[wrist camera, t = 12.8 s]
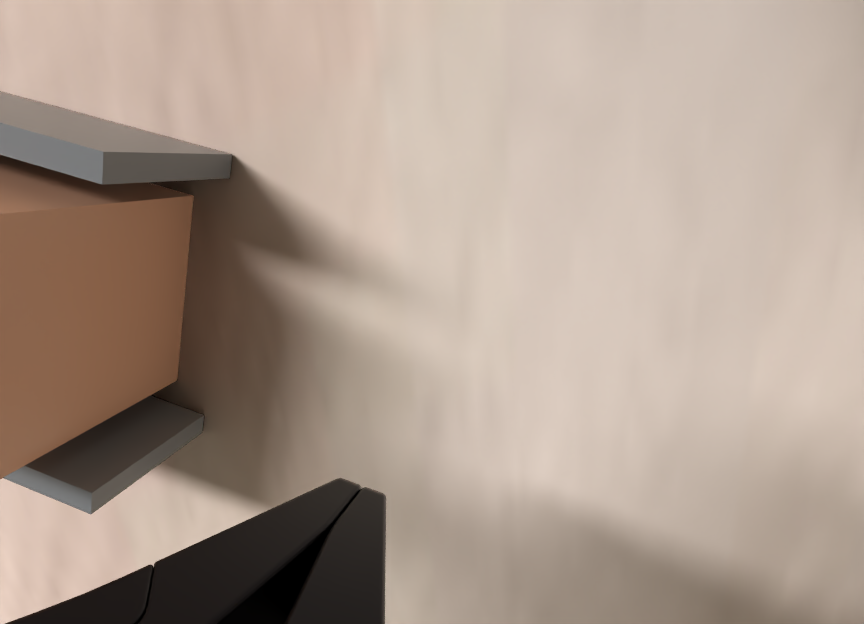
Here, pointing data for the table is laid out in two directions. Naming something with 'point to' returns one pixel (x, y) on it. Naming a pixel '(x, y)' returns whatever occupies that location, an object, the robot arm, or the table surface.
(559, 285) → the table surface
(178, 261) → the orange block with dome
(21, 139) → the lane
